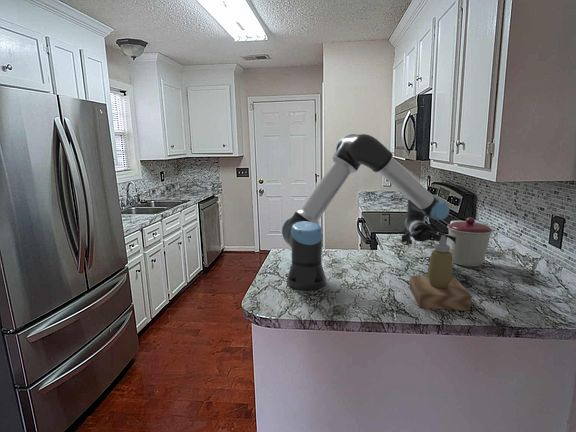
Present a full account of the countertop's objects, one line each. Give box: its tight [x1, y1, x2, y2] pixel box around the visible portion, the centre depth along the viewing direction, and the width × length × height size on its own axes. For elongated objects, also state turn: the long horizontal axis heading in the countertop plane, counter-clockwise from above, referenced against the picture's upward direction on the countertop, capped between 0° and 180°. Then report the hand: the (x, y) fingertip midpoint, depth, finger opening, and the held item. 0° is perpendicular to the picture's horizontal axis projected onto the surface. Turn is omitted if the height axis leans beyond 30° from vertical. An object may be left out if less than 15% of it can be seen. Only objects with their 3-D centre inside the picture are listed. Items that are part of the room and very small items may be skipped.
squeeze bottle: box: [426, 235, 453, 288], centre depth 121 cm, size 8×8×18 cm
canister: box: [446, 217, 494, 268], centre depth 157 cm, size 18×18×21 cm
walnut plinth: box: [409, 275, 473, 311], centre depth 123 cm, size 16×16×5 cm
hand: (433, 245), depth 130 cm, fingers open, 13 cm apart
